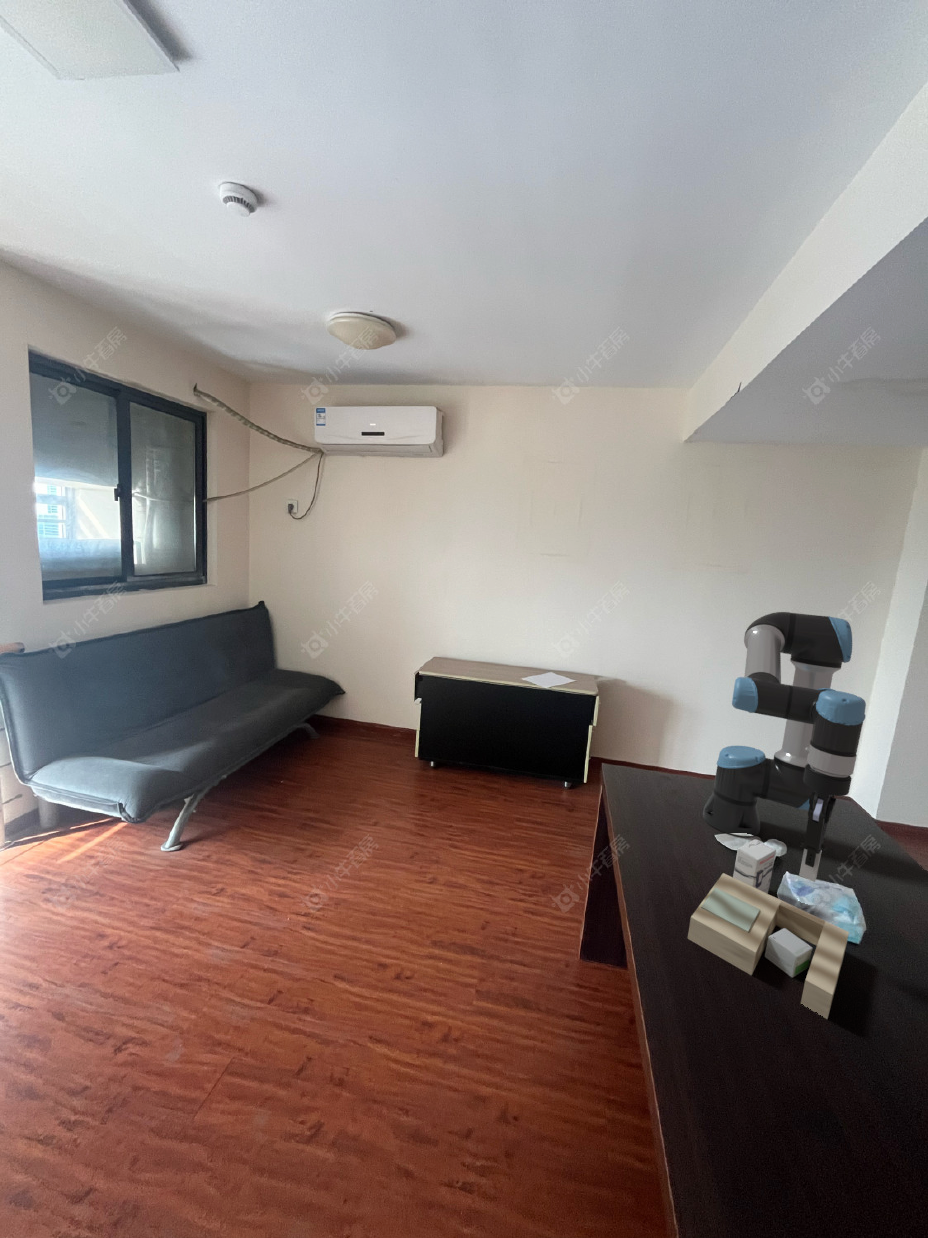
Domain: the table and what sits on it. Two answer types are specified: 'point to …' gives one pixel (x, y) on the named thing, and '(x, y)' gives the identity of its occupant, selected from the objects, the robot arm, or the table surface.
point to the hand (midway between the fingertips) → (807, 877)
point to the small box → (788, 952)
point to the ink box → (755, 865)
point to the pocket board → (767, 935)
